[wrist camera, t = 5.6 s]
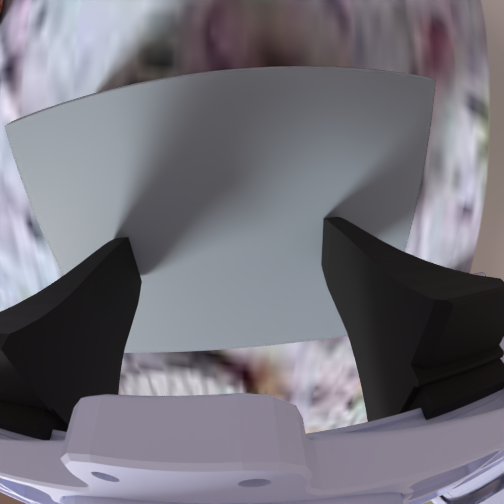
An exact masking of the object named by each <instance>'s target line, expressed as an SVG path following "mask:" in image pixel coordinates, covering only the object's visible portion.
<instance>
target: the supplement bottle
mask: <svg viewBox="0 0 504 504" xmlns="http://www.w3.org/2000/svg"><path fill="white" fill-rule="evenodd" d="M3 1H4V0H0V13H1V10H2V6H3Z"/></svg>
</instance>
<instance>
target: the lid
mask: <svg viewBox="0 0 504 504" xmlns="http://www.w3.org/2000/svg"><path fill="white" fill-rule="evenodd" d="M434 91H435V80H434V79H431V78H429V77H425V76H419V75H413V74H406V73H398V72H390V71H382V70H372V69H360V68H345V67H321V66H280V67H255V68H240V69H228V70H218V71H209V72H201V73H193V74H186V75H179V76H173V77H167V78H161V79H156V80H150V81H145V82H140V83H135V84H131V85H126V86H122V87H118V88H113V89H109V90H105V91H102V92H98V93H94V94H90V95H87V96H83V97H80V98H77V99H73V100H70V101H67V102H64V103H61V104H58V105H55V106H52V107H49V108H46V109H43V110H40V111H37V112H35V113H32V114H29V115H27V116H24V117H22V118H19V119H17V120H14V121H12V122H11V123H9V124H7V125H6V126H5V129H6V133H7V136H8V140H9V143H10V146H11V150H12V153H13V156H14V159H15V162H16V165H17V168H18V171H19V174H20V177H21V180H22V182H23V185H24V188H25V190H26V193H27V196H28V198H29V201H30V203H31V206H32V208H33V211H34V213H35V216H36V218H37V220H38V223H39V225H40V227H41V230H42V232H43V234H44V236H45V238H46V241H47V243H48V245H49V247H50V249H51V251H52V253H53V255H54V257H55V259H56V261H57V263H58V265H59V267H60V269H61V271H62V273H63V275H65V274H66V273H68V272H69V271H70V270H72V269H73V268H74V267H76V266H77V265H78V264H80V263H81V262H82V261H83V260H85V259H86V258H87V257H89V256H90V255H91V254H92V253H94V252H95V251H96V250H98V249H99V248H100V247H102V246H103V245H104V244H106V243H107V242H109V241H111V240H113V239H115V238H124V237H129V240H130V244H131V247H132V251H133V254H134V257H135V261H136V264H137V267H138V270H139V274H140V277H141V280H142V284H141V291H140V297H139V303H138V306H137V310H136V313H135V316H134V320H133V323H132V326H131V330H130V333H129V336H128V340H127V343H126V346H125V350H124V353H147V352H182V351H203V350H219V349H233V348H246V347H257V346H267V345H277V344H286V343H295V342H303V341H311V340H319V339H326V338H333V337H340V336H347V335H348V334H347V331H346V329H345V327H344V324H343V322H342V320H341V317H340V315H339V313H338V310H337V308H336V306H335V304H334V301H333V299H332V297H331V294H330V292H329V290H328V287H327V284H326V281H325V277H324V274H323V270H322V266H321V260H322V240H323V218H331V217H341V218H343V219H345V220H347V221H349V222H351V223H353V224H354V225H356V226H358V227H359V228H361V229H363V230H364V231H366V232H368V233H370V234H371V235H373V236H375V237H377V238H378V239H380V240H382V241H384V242H386V243H388V244H389V245H391V246H393V247H395V248H397V249H399V250H401V251H403V252H404V251H405V248H406V244H407V240H408V237H409V233H410V229H411V225H412V221H413V217H414V212H415V208H416V204H417V199H418V195H419V190H420V185H421V180H422V175H423V170H424V164H425V159H426V153H427V147H428V140H429V133H430V126H431V119H432V110H433V101H434Z"/></svg>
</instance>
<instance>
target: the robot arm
mask: <svg viewBox="0 0 504 504" xmlns="http://www.w3.org/2000/svg"><path fill="white" fill-rule="evenodd" d="M321 266H322V270H323V274H324V277H325V281H326V284H327V287H328V290H329V292H330V294H331V297H332V299H333V301H334V304H335V306H336V308H337V310H338V313H339V315H340V317H341V320H342V322H343V324H344V327H345V329H346V331H347V334H348V337H349V340H350V343H351V346H352V350H353V354H354V357H355V361H356V365H357V369H358V373H359V378H360V382H361V386H362V391H363V396H364V402H365V407H366V413H367V419H368V422H366V423H362V424H357V425H352V426H348V427H343V428H337V429H332V430H327V431H321V432H315V433H308V434H305V429H304V423H303V418H302V416H301V414H300V412H299V411H298V409H297V407H296V405H294V404H291V403H289V402H286V401H284V400H281V399H278V398H276V397H273V396H271V395H264V394H243V393H235V394H219V395H196V396H133V395H118V390H119V380H120V372H121V365H122V359H123V354H124V350H125V346H126V343H127V340H128V336H129V333H130V330H131V326H132V323H133V320H134V316H135V313H136V310H137V306H138V303H139V297H140V291H141V284H142V280H141V277H140V274H139V270H138V267H137V264H136V261H135V257H134V254H133V251H132V247H131V244H130V240H129V237H124V238H115V239H113V240H111V241H109V242H107V243H106V244H104V245H103V246H102V247H100V248H99V249H98V250H96V251H95V252H94V253H92V254H91V255H90V256H89V257H87V258H86V259H85V260H83V261H82V262H81V263H80V264H78V265H77V266H76V267H74V268H73V269H72V270H70V271H69V272H68V273H66V274H65V275H64V276H62V277H61V278H60V279H58V280H57V281H55V282H54V283H52V284H51V285H49V286H48V287H46V288H44V289H43V290H41V291H40V292H38V293H36V294H35V295H33V296H31V297H29V298H27V299H25V300H24V301H22V302H20V303H18V304H16V305H14V306H12V307H10V308H8V309H6V310H3V311H1V312H0V492H2V493H4V494H7V495H8V496H11V497H13V498H15V499H17V500H19V501H22V502H24V503H27V504H423V503H425V502H427V501H432V502H433V503H434V504H504V282H503V281H502V280H501V279H499V278H493V277H486V275H485V274H484V273H483V272H481V273H476V274H469V273H465V272H461V271H457V270H453V269H449V268H446V267H443V266H440V265H437V264H434V263H431V262H428V261H425V260H422V259H420V258H417V257H415V256H413V255H410V254H408V253H406V252H403V251H401V250H399V249H397V248H395V247H393V246H391V245H389V244H388V243H386V242H384V241H382V240H380V239H378V238H377V237H375V236H373V235H371V234H370V233H368V232H366V231H364V230H363V229H361V228H359V227H358V226H356V225H354V224H353V223H351V222H349V221H347V220H345V219H343V218H341V217H331V218H323V240H322V260H321Z"/></svg>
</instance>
